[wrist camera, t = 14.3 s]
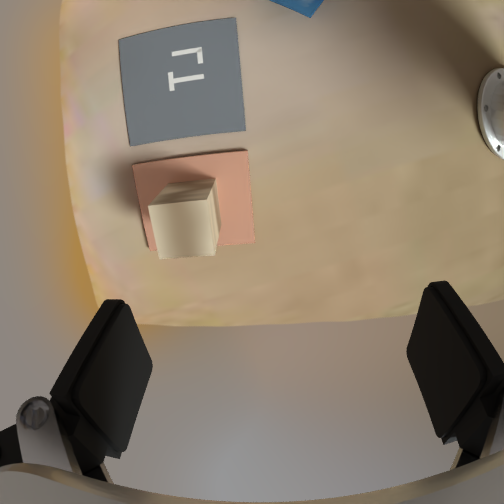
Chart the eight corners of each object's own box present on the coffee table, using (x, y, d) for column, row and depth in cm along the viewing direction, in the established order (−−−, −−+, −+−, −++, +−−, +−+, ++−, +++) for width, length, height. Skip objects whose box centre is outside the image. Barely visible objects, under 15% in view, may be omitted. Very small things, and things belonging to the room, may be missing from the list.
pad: (247, 150, 30) (247, 150, 29) (255, 240, 34) (255, 242, 34) (134, 164, 30) (132, 165, 29) (151, 248, 35) (150, 250, 34)
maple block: (216, 178, 30) (206, 199, 24) (221, 224, 33) (214, 255, 26) (168, 183, 30) (147, 205, 24) (175, 227, 33) (159, 259, 27)
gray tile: (235, 18, 23) (235, 17, 23) (245, 130, 29) (245, 130, 28) (119, 40, 23) (118, 39, 23) (131, 146, 29) (130, 146, 29)
